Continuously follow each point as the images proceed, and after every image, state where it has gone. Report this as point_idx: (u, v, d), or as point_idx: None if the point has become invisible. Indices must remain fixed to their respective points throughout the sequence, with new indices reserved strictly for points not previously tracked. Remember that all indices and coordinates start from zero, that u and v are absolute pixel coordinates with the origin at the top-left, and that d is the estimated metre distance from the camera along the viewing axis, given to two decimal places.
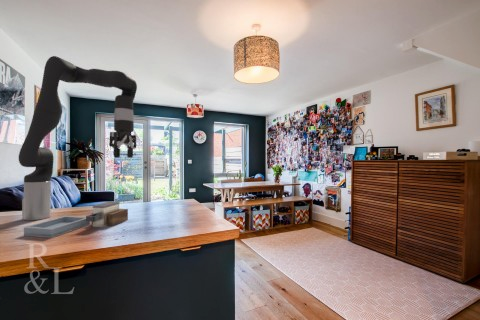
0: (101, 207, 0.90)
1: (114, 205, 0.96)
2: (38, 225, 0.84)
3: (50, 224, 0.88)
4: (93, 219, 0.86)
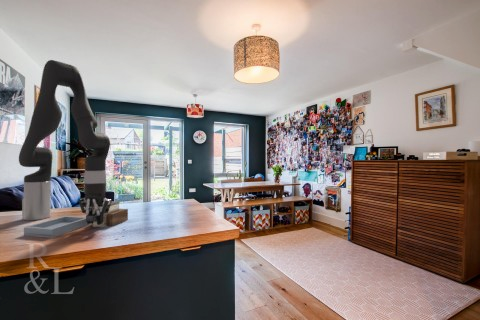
0: None
1: (114, 205, 0.96)
2: (38, 225, 0.84)
3: (50, 224, 0.88)
4: (93, 219, 0.86)
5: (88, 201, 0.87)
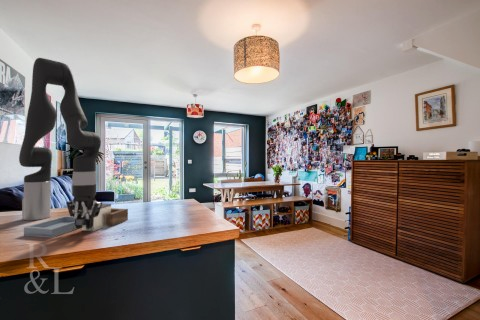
0: None
1: (105, 207, 0.91)
2: (38, 225, 0.84)
3: (50, 224, 0.88)
4: (82, 223, 0.81)
5: (76, 204, 0.82)
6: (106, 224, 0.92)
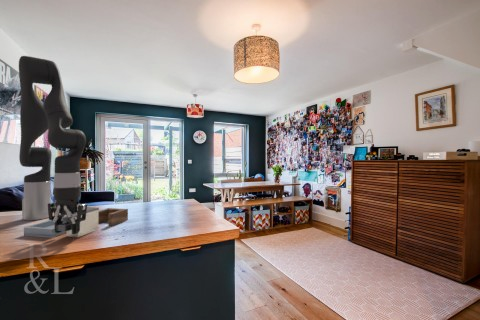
0: None
1: (92, 211, 0.84)
2: (38, 225, 0.84)
3: (50, 224, 0.88)
4: (65, 228, 0.75)
5: (58, 208, 0.75)
6: (93, 229, 0.85)
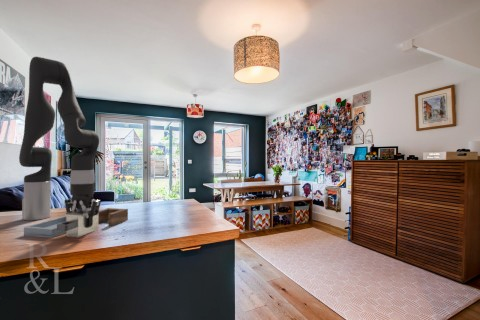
0: (75, 214, 0.79)
1: None
2: (38, 225, 0.84)
3: (50, 224, 0.88)
4: (65, 228, 0.75)
5: (74, 203, 0.81)
6: (93, 229, 0.85)
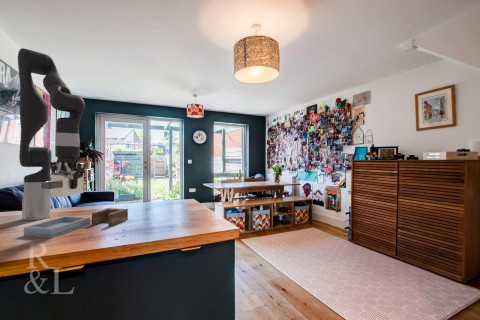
0: (60, 174, 0.81)
1: None
2: (38, 225, 0.84)
3: (50, 224, 0.88)
4: (49, 186, 0.78)
5: (60, 164, 0.84)
6: (78, 192, 0.88)
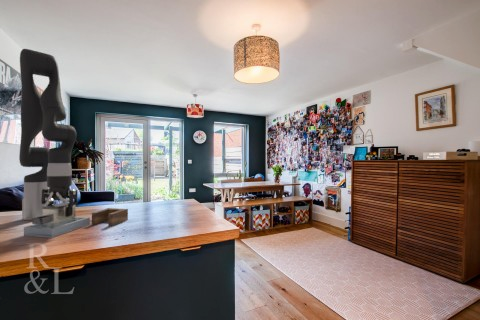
0: (51, 208, 0.82)
1: None
2: (38, 225, 0.84)
3: None
4: (40, 222, 0.78)
5: (51, 194, 0.85)
6: None
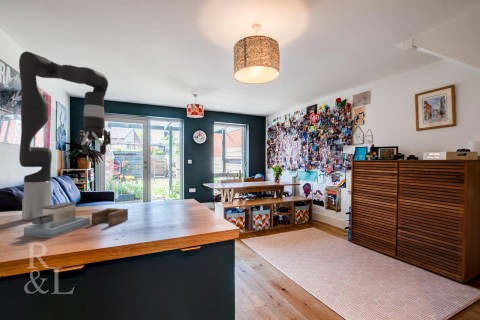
0: (51, 208, 0.82)
1: (68, 206, 0.88)
2: (38, 225, 0.84)
3: None
4: (40, 222, 0.78)
5: (87, 134, 0.93)
6: None
